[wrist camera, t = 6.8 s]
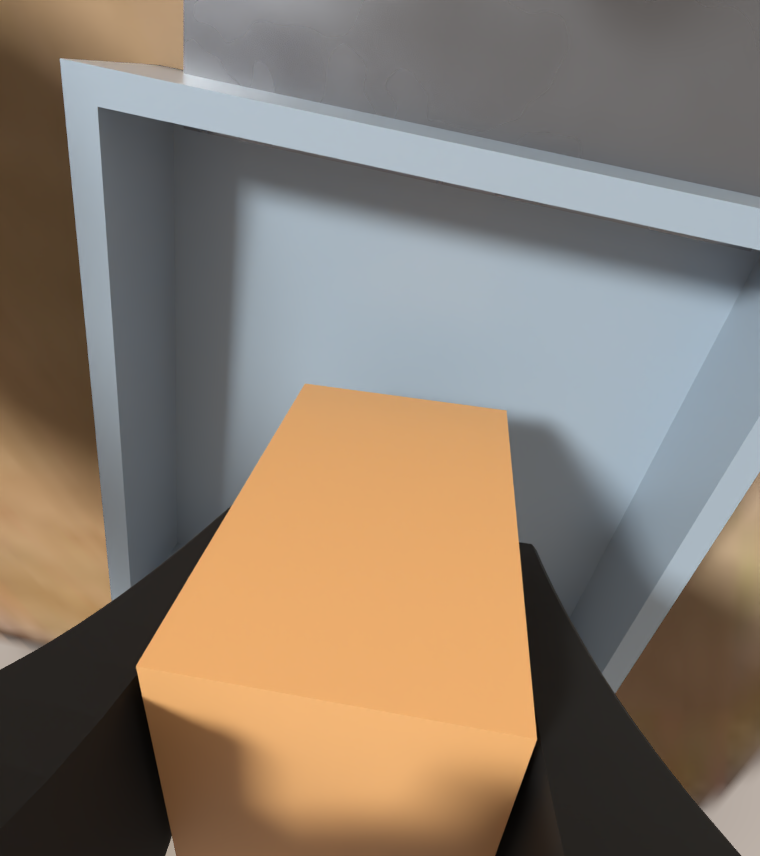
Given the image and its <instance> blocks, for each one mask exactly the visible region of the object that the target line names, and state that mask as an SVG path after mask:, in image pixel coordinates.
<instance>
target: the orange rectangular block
mask: <svg viewBox="0 0 760 856" xmlns="http://www.w3.org/2000/svg"><path fill="white" fill-rule="evenodd" d="M136 669H137V674H138V679H139V683H140V688H141V693H142V698H143V702H144V707H145V712H146V716H147V721H148V726H149V730H150V735H151V740H152V744H153V749H154V754H155V758H156V763H157V768H158V773H159V777H160V782H161V787H162V791H163V796H164V801H165V805H166V810H167V815H168V819H169V824H170V829H171V833H172V838H173V842H174V848H175V852H176V856H495V854H496V852H497V849H498V846H499V843H500V841H501V838H502V835H503V832H504V829H505V827H506V824H507V821H508V818H509V816H510V813H511V810H512V807H513V805H514V802H515V799H516V796H517V793H518V791H519V788H520V785H521V782H522V780H523V777H524V774H525V771H526V769H527V766H528V763H529V760H530V757H531V755H532V752H533V749H534V746H535V744H536V741H537V733H536V722H535V712H534V701H533V690H532V679H531V668H530V658H529V647H528V636H527V625H526V615H525V604H524V593H523V582H522V571H521V561H520V550H519V539H518V528H517V517H516V507H515V496H514V485H513V474H512V463H511V453H510V442H509V431H508V420H507V410H500V409H492V408H485V407H477V406H470V405H462V404H455V403H447V402H440V401H432V400H425V399H417V398H410V397H402V396H395V395H387V394H380V393H372V392H365V391H357V390H350V389H342V388H335V387H328V386H320V385H313V384H304V386H303V388H302V389H301V391H300V393H299V394H298V396H297V398H296V399H295V401H294V403H293V404H292V406H291V408H290V409H289V411H288V413H287V414H286V416H285V418H284V419H283V421H282V423H281V424H280V426H279V428H278V429H277V431H276V433H275V434H274V436H273V438H272V439H271V441H270V443H269V444H268V446H267V448H266V449H265V451H264V453H263V454H262V456H261V458H260V459H259V461H258V463H257V464H256V466H255V468H254V469H253V471H252V473H251V474H250V476H249V478H248V479H247V481H246V483H245V485H244V486H243V488H242V490H241V491H240V493H239V495H238V496H237V498H236V500H235V501H234V503H233V505H232V506H231V508H230V510H229V511H228V513H227V515H226V516H225V518H224V520H223V521H222V523H221V525H220V526H219V528H218V530H217V531H216V533H215V535H214V536H213V538H212V540H211V541H210V543H209V545H208V546H207V548H206V550H205V551H204V553H203V555H202V556H201V558H200V560H199V561H198V563H197V565H196V566H195V568H194V570H193V571H192V573H191V575H190V576H189V578H188V580H187V582H186V583H185V585H184V587H183V588H182V590H181V592H180V593H179V595H178V597H177V598H176V600H175V602H174V603H173V605H172V607H171V608H170V610H169V612H168V613H167V615H166V617H165V618H164V620H163V622H162V623H161V625H160V627H159V628H158V630H157V632H156V633H155V635H154V637H153V638H152V640H151V642H150V643H149V645H148V647H147V648H146V650H145V652H144V653H143V655H142V657H141V658H140V660H139V662H138V663H137V665H136Z"/></svg>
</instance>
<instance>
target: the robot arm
mask: <svg viewBox="0 0 760 856" xmlns="http://www.w3.org/2000/svg"><path fill="white" fill-rule="evenodd" d="M231 506H232V505H231ZM231 506H230V507H229V508H228V509H227V510H226V511H224V512H223V513H222V514H221V515H220V516H219V517H217V518H216V519H215V520H214V521H213V522H212V523H210V524H209V525H208V526H207V527H206V528H205V529H203V530H202V531H201V532H200V533H199V534H198V535H196V536H195V537H194V538H193V539H192V540H190V541H189V542H188V543H187V544H186V545H184V546H183V547H182V548H181V549H179V550H178V551H177V552H176V553H174V554H173V555H172V556H171V557H170V558H168V559H167V560H166V561H165V562H163V563H162V564H161V565H160V566H158V567H157V568H156V569H155V570H153V571H152V572H151V573H149V574H148V575H147V576H146V577H144V578H143V579H141V580H140V581H139V582H137V583H136V584H135V585H133V586H132V587H131V588H129V589H128V590H126V591H125V592H124V593H122V594H121V595H120V596H118V597H117V598H116V599H114V600H113V601H111V602H110V603H109V604H107V605H106V606H104V607H103V608H101V609H100V610H99V611H97V612H96V613H94V614H93V615H91V616H90V617H88V618H87V619H85V620H84V621H82V622H81V623H79V624H78V625H76V626H75V627H73V628H71V629H70V630H68V631H67V632H65V633H63V634H62V635H60V636H59V637H57V638H55V639H54V640H52V641H51V642H49V643H47V644H46V645H44V646H42V647H41V648H39V649H37V650H35V651H34V652H32V653H30V654H28V655H26V656H25V657H23V658H21V659H19V660H17V661H15V662H14V663H12V664H10V665H8V666H6V667H5V668H3V669H1V670H0V856H165V854H166V851H167V848H168V846H169V843H170V839H171V836H172V833H171V829H170V824H169V819H168V815H167V810H166V805H165V801H164V796H163V791H162V787H161V782H160V777H159V773H158V768H157V763H156V758H155V754H154V749H153V744H152V740H151V735H150V730H149V726H148V721H147V716H146V712H145V707H144V702H143V698H142V693H141V688H140V683H139V679H138V674H137V669H136V665H137V663H138V662H139V660H140V658H141V657H142V655H143V653H144V652H145V650H146V648H147V647H148V645H149V643H150V642H151V640H152V638H153V637H154V635H155V633H156V632H157V630H158V628H159V627H160V625H161V623H162V622H163V620H164V618H165V617H166V615H167V613H168V612H169V610H170V608H171V607H172V605H173V603H174V602H175V600H176V598H177V597H178V595H179V593H180V592H181V590H182V588H183V587H184V585H185V583H186V582H187V580H188V578H189V576H190V575H191V573H192V571H193V570H194V568H195V566H196V565H197V563H198V561H199V560H200V558H201V556H202V555H203V553H204V551H205V550H206V548H207V546H208V545H209V543H210V541H211V540H212V538H213V536H214V535H215V533H216V531H217V530H218V528H219V526H220V525H221V523H222V521H223V520H224V518H225V516H226V515H227V513H228V511H229V510H230V508H231ZM519 550H520V561H521V571H522V582H523V593H524V604H525V615H526V625H527V636H528V647H529V658H530V668H531V679H532V690H533V701H534V712H535V722H536V733H537V741H536V744H535V746H534V749H533V752H532V755H531V757H530V760H529V763H528V766H527V769H526V771H525V774H524V777H523V780H522V782H521V785H520V788H519V791H518V793H517V796H516V799H515V802H514V805H513V807H512V810H511V813H510V816H509V818H508V821H507V824H506V827H505V829H504V832H503V835H502V838H501V841H500V843H499V846H498V849H497V852H496V854H495V856H741V855H740V854H739V853H738V852H737V851H736V849H735V848H734V847H733V846H732V845H731V843H730V842H729V841H728V840H727V839H726V837H725V836H724V835H723V834H722V833H721V832H720V830H718V828H717V827H716V826H715V825H714V823H713V822H712V821H711V820H710V819H709V818H708V816H707V815H706V814H705V813H704V812H703V811H702V809H701V808H700V807H699V806H698V805H697V804H696V802H695V801H694V800H693V799H692V798H691V797H690V795H689V794H688V793H687V792H686V790H685V789H684V788H683V787H682V785H681V784H680V783H679V781H678V780H677V779H676V778H675V776H674V775H673V774H672V772H671V771H670V770H669V769H668V767H667V766H666V765H665V763H664V762H663V761H662V760H661V758H660V757H659V756H658V754H657V753H656V752H655V750H654V749H653V747H652V746H651V745H650V743H649V742H648V741H647V739H646V738H645V737H644V735H643V734H642V733H641V731H640V730H639V728H638V727H637V726H636V724H635V723H634V721H633V720H632V718H631V717H630V716H629V714H628V713H627V711H626V710H625V708H624V707H623V705H622V704H621V702H620V701H619V699H618V698H617V696H616V695H615V693H614V692H613V690H612V688H611V687H610V685H609V684H608V682H607V681H606V679H605V678H604V676H603V674H602V673H601V671H600V670H599V668H598V666H597V665H596V663H595V661H594V660H593V658H592V656H591V655H590V653H589V652H588V650H587V648H586V646H585V644H584V643H583V641H582V639H581V637H580V636H579V634H578V632H577V630H576V629H575V627H574V625H573V623H572V622H571V620H570V618H569V616H568V614H567V612H566V610H565V609H564V607H563V605H562V603H561V601H560V599H559V597H558V595H557V593H556V591H555V589H554V587H553V585H552V583H551V581H550V579H549V577H548V575H547V572H546V570H545V568H544V566H543V564H542V561H541V559H540V557H539V555H538V552H537V550H536V549H535V547H534V546H533V545H532V544H528V543H522V542H519Z"/></svg>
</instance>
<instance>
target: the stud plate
mask: <svg viewBox="0 0 760 856" xmlns="http://www.w3.org/2000/svg"><path fill="white" fill-rule="evenodd" d="M184 74H188V75H192V76H197V77H202V78H206V79H211V80H216V81H220V82H225V83H230V84H234V85H239V86H244V87H248V88H253V89H258V90H262V91H267V92H272V93H276V94H281V95H286V96H290V97H295V98H300V99H304V100H309V101H314V102H318V103H323V104H328V105H332V106H337V107H342V108H346V109H351V110H356V111H360V112H365V113H370V114H374V115H379V116H384V117H388V118H393V119H398V120H402V121H407V122H412V123H416V124H421V125H426V126H430V127H435V128H440V129H445V130H449V131H454V132H459V133H463V134H468V135H473V136H477V137H482V138H487V139H491V140H496V141H501V142H505V143H510V144H515V145H519V146H524V147H529V148H533V149H538V150H543V151H547V152H552V153H557V154H561V155H566V156H571V157H575V158H580V159H585V160H589V161H594V162H599V163H603V164H608V165H613V166H617V167H622V168H627V169H631V170H636V171H641V172H645V173H650V174H655V175H659V176H664V177H669V178H673V179H678V180H683V181H687V182H692V183H697V184H701V185H706V186H711V187H715V188H720V189H725V190H729V191H734V192H739V193H743V194H748V195H753V196H757V197H760V0H184ZM184 129H188V130H193V131H197V132H202V133H207V134H211V135H216V136H220V137H225V138H230V139H234V140H239V141H243V142H248V143H253V144H257V145H262V146H266V147H271V148H276V149H280V150H285V151H289V152H294V153H299V154H303V155H308V156H312V157H317V158H322V159H326V160H331V161H336V162H340V163H345V164H349V165H354V166H359V167H363V168H368V169H372V170H377V171H382V172H386V173H391V174H395V175H400V176H405V177H409V178H414V179H418V180H423V181H428V182H432V183H437V184H441V185H446V186H451V187H455V188H460V189H464V190H469V191H474V192H478V193H483V194H487V195H492V196H497V197H501V198H506V199H511V200H515V201H520V202H524V203H529V204H534V205H538V206H543V207H547V208H552V209H557V210H561V211H566V212H570V213H575V214H580V215H584V216H589V217H593V218H598V219H603V220H607V221H612V222H616V223H621V224H626V225H630V226H635V227H639V228H644V229H649V230H653V231H658V232H662V233H667V234H672V235H676V236H681V237H685V238H690V239H695V240H699V241H704V242H709V243H713V244H718V245H722V246H727V247H732V248H736V249H741V250H745V251H750V252H751V250H752V249H751V248H747V247H742V246H738V245H733V244H728V243H724V242H719V241H714V240H710V239H705V238H701V237H696V236H691V235H687V234H682V233H678V232H673V231H668V230H664V229H659V228H655V227H650V226H645V225H641V224H636V223H632V222H627V221H622V220H618V219H613V218H608V217H604V216H599V215H595V214H590V213H585V212H581V211H576V210H572V209H567V208H562V207H558V206H553V205H549V204H544V203H539V202H535V201H530V200H526V199H521V198H516V197H512V196H507V195H502V194H498V193H493V192H489V191H484V190H479V189H475V188H470V187H466V186H461V185H456V184H452V183H447V182H443V181H438V180H433V179H429V178H424V177H420V176H415V175H410V174H406V173H401V172H396V171H392V170H387V169H383V168H378V167H373V166H369V165H364V164H360V163H355V162H350V161H346V160H341V159H337V158H332V157H327V156H323V155H318V154H314V153H309V152H304V151H300V150H295V149H290V148H286V147H281V146H277V145H272V144H267V143H263V142H258V141H254V140H249V139H244V138H240V137H235V136H231V135H226V134H221V133H217V132H212V131H208V130H203V129H198V128H194V127H189V126H184Z"/></svg>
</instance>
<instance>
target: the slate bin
mask: <svg viewBox="0 0 760 856" xmlns="http://www.w3.org/2000/svg"><path fill="white" fill-rule="evenodd" d="M60 66H61V77H62V87H63V98H64V108H65V118H66V129H67V139H68V150H69V160H70V171H71V181H72V192H73V202H74V212H75V223H76V233H77V244H78V254H79V265H80V275H81V286H82V296H83V307H84V317H85V327H86V338H87V348H88V359H89V369H90V380H91V390H92V401H93V411H94V421H95V432H96V442H97V453H98V463H99V474H100V484H101V495H102V505H103V516H104V526H105V536H106V547H107V557H108V568H109V578H110V589H111V599H112V601H113V600H114V599H116V598H117V597H118V596H120V595H121V594H122V593H124V592H125V591H126V590H128V589H129V588H131V587H132V586H133V585H135V584H136V583H137V582H139V581H140V580H141V579H143V578H144V577H146V576H147V575H148V574H149V573H151V572H152V571H153V570H155V569H156V568H157V567H158V566H160V565H161V564H162V563H163V562H165V561H166V560H167V559H168V558H170V557H171V556H172V555H173V554H174V553H176V552H177V551H178V550H179V549H181V548H182V547H183V546H184V545H186V544H187V543H188V542H189V541H190V540H192V539H193V538H194V537H195V536H196V535H198V534H199V533H200V532H201V531H202V530H203V529H205V528H206V527H207V526H208V525H209V524H210V523H212V522H213V521H214V520H215V519H216V518H217V517H219V516H220V515H221V514H222V513H223V512H224V511H226V510H227V509H228V508H229V507H230V506H231V505H233V503H234V501H235V500H236V498H237V496H238V495H239V493H240V491H241V490H242V488H243V486H244V485H245V483H246V481H247V479H248V478H249V476H250V474H251V473H252V471H253V469H254V468H255V466H256V464H257V463H258V461H259V459H260V458H261V456H262V454H263V453H264V451H265V449H266V448H267V446H268V444H269V443H270V441H271V439H272V438H273V436H274V434H275V433H276V431H277V429H278V428H279V426H280V424H281V423H282V421H283V419H284V418H285V416H286V414H287V413H288V411H289V409H290V408H291V406H292V404H293V403H294V401H295V399H296V398H297V396H298V394H299V393H300V391H301V389H302V388H303V386H304V384H313V385H320V386H328V387H335V388H342V389H350V390H357V391H365V392H372V393H380V394H387V395H395V396H402V397H410V398H417V399H425V400H432V401H440V402H447V403H455V404H462V405H470V406H477V407H485V408H492V409H500V410H507V420H508V431H509V442H510V453H511V463H512V474H513V485H514V496H515V507H516V517H517V528H518V539H519V542H522V543H528V544H532V545H533V546H534V547H535V549H536V550H537V552H538V555H539V557H540V559H541V561H542V564H543V566H544V568H545V570H546V572H547V575H548V577H549V579H550V581H551V583H552V585H553V587H554V589H555V591H556V593H557V595H558V597H559V599H560V601H561V603H562V605H563V607H564V609H565V610H566V612H567V614H568V616H569V618H570V620H571V622H572V623H573V625H574V627H575V629H576V630H577V632H578V634H579V636H580V637H581V639H582V641H583V643H584V644H585V646H586V648H587V650H588V652H589V653H590V655H591V656H592V658H593V660H594V661H595V663H596V665H597V666H598V668H599V670H600V671H601V673H602V674H603V676H604V678H605V679H606V681H607V682H608V684H609V685H610V687H611V688H612V690H613V692H614V693H616V692H617V690H618V688H619V687H620V685H621V684H622V682H623V681H624V679H625V678H626V676H627V675H628V673H629V672H630V670H631V668H632V667H633V665H634V664H635V662H636V661H637V659H638V658H639V656H640V655H641V653H642V652H643V650H644V649H645V647H646V645H647V644H648V642H649V641H650V639H651V638H652V636H653V635H654V633H655V632H656V630H657V629H658V627H659V625H660V624H661V622H662V621H663V619H664V618H665V616H666V615H667V613H668V612H669V610H670V609H671V607H672V606H673V604H674V602H675V601H676V599H677V598H678V596H679V595H680V593H681V592H682V590H683V589H684V587H685V586H686V584H687V583H688V581H689V579H690V578H691V576H692V575H693V573H694V572H695V570H696V569H697V567H698V566H699V564H700V563H701V561H702V559H703V558H704V556H705V555H706V553H707V552H708V550H709V549H710V547H711V546H712V544H713V543H714V541H715V540H716V538H717V536H718V535H719V533H720V532H721V530H722V529H723V527H724V526H725V524H726V523H727V521H728V520H729V518H730V516H731V515H732V513H733V512H734V510H735V509H736V507H737V506H738V504H739V503H740V501H741V500H742V498H743V497H744V495H745V493H746V492H747V490H748V489H749V487H750V486H751V484H752V483H753V481H754V480H755V478H756V477H757V475H758V474H759V472H760V197H757V196H753V195H748V194H743V193H739V192H734V191H729V190H725V189H720V188H715V187H711V186H706V185H701V184H697V183H692V182H687V181H683V180H678V179H673V178H669V177H664V176H659V175H655V174H650V173H645V172H641V171H636V170H631V169H627V168H622V167H617V166H613V165H608V164H603V163H599V162H594V161H589V160H585V159H580V158H575V157H571V156H566V155H561V154H557V153H552V152H547V151H543V150H538V149H533V148H529V147H524V146H519V145H515V144H510V143H505V142H501V141H496V140H491V139H487V138H482V137H477V136H473V135H468V134H463V133H459V132H454V131H449V130H445V129H440V128H435V127H430V126H426V125H421V124H416V123H412V122H407V121H402V120H398V119H393V118H388V117H384V116H379V115H374V114H370V113H365V112H360V111H356V110H351V109H346V108H342V107H337V106H332V105H328V104H323V103H318V102H314V101H309V100H304V99H300V98H295V97H290V96H286V95H281V94H276V93H272V92H267V91H262V90H258V89H253V88H248V87H244V86H239V85H234V84H230V83H225V82H220V81H216V80H211V79H206V78H202V77H197V76H192V75H188V74H184V70H180V69H175V68H171V67H166V66H161V65H151V64H137V63H123V62H108V61H94V60H79V59H65V58H60ZM184 126H189V127H194V128H198V129H203V130H208V131H212V132H217V133H221V134H226V135H231V136H235V137H240V138H244V139H249V140H254V141H258V142H263V143H267V144H272V145H277V146H281V147H286V148H290V149H295V150H300V151H304V152H309V153H314V154H318V155H323V156H327V157H332V158H337V159H341V160H346V161H350V162H355V163H360V164H364V165H369V166H373V167H378V168H383V169H387V170H392V171H396V172H401V173H406V174H410V175H415V176H420V177H424V178H429V179H433V180H438V181H443V182H447V183H452V184H456V185H461V186H466V187H470V188H475V189H479V190H484V191H489V192H493V193H498V194H502V195H507V196H512V197H516V198H521V199H526V200H530V201H535V202H539V203H544V204H549V205H553V206H558V207H562V208H567V209H572V210H576V211H581V212H585V213H590V214H595V215H599V216H604V217H608V218H613V219H618V220H622V221H627V222H632V223H636V224H641V225H645V226H650V227H655V228H659V229H664V230H668V231H673V232H678V233H682V234H687V235H691V236H696V237H701V238H705V239H710V240H714V241H719V242H724V243H728V244H733V245H738V246H742V247H747V248H751V249H752V250H751V252H750V251H745V250H741V249H736V248H732V247H727V246H722V245H718V244H713V243H709V242H704V241H699V240H695V239H690V238H685V237H681V236H676V235H672V234H667V233H662V232H658V231H653V230H649V229H644V228H639V227H635V226H630V225H626V224H621V223H616V222H612V221H607V220H603V219H598V218H593V217H589V216H584V215H580V214H575V213H570V212H566V211H561V210H557V209H552V208H547V207H543V206H538V205H534V204H529V203H524V202H520V201H515V200H511V199H506V198H501V197H497V196H492V195H487V194H483V193H478V192H474V191H469V190H464V189H460V188H455V187H451V186H446V185H441V184H437V183H432V182H428V181H423V180H418V179H414V178H409V177H405V176H400V175H395V174H391V173H386V172H382V171H377V170H372V169H368V168H363V167H359V166H354V165H349V164H345V163H340V162H336V161H331V160H326V159H322V158H317V157H312V156H308V155H303V154H299V153H294V152H289V151H285V150H280V149H276V148H271V147H266V146H262V145H257V144H253V143H248V142H243V141H239V140H234V139H230V138H225V137H220V136H216V135H211V134H207V133H202V132H197V131H193V130H188V129H184Z"/></svg>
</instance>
